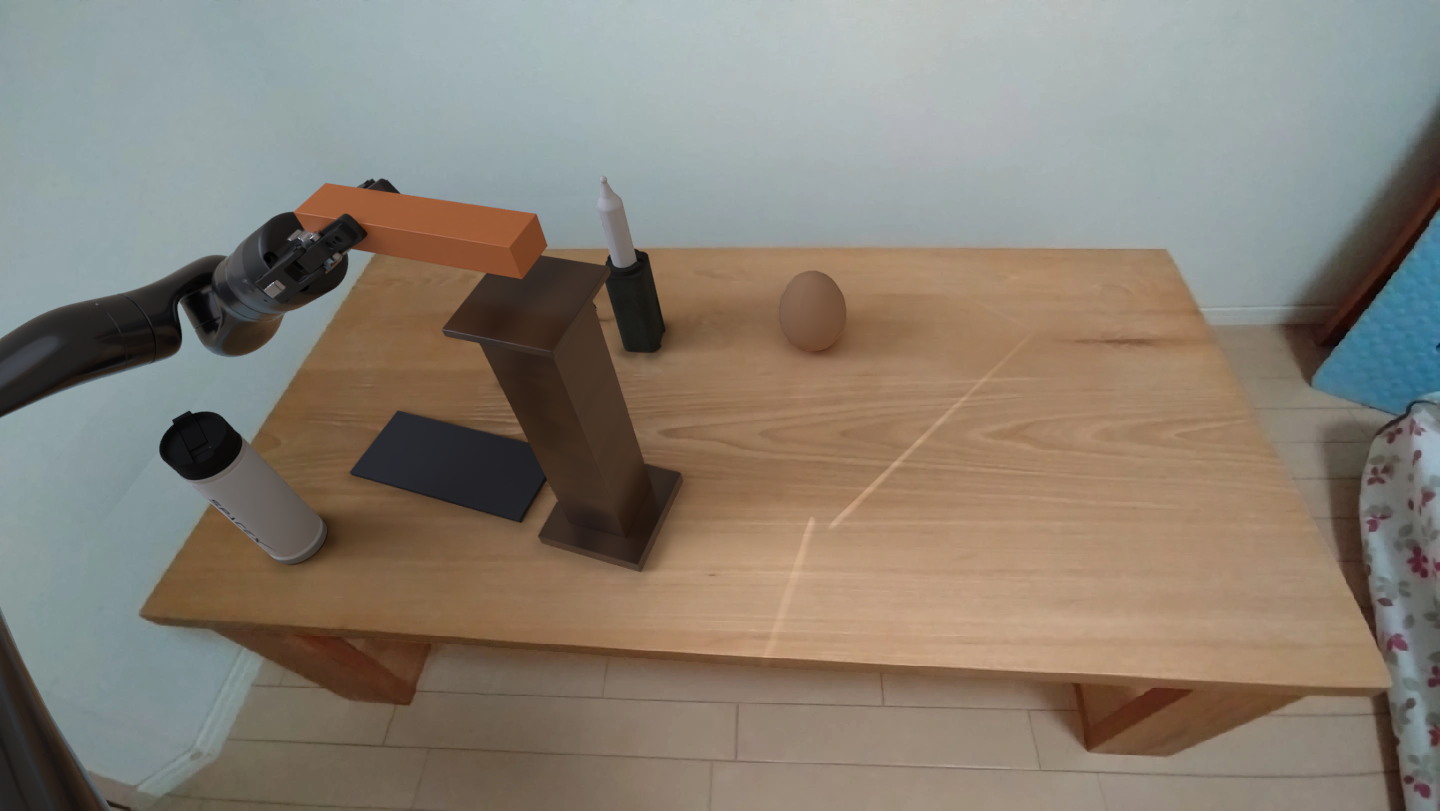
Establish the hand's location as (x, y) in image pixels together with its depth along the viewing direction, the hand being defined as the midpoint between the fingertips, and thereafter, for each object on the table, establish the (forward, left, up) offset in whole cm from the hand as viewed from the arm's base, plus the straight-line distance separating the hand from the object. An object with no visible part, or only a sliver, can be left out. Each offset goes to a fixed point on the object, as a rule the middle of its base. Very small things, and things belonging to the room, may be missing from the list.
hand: (373, 208), depth 60 cm
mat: (-2, +10, -39) cm, 40 cm away
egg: (+36, -17, -39) cm, 56 cm away
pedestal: (+3, -11, -39) cm, 40 cm away
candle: (+26, +3, -39) cm, 47 cm away
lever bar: (+1, -3, -3) cm, 5 cm away
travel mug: (-19, +18, -39) cm, 47 cm away
